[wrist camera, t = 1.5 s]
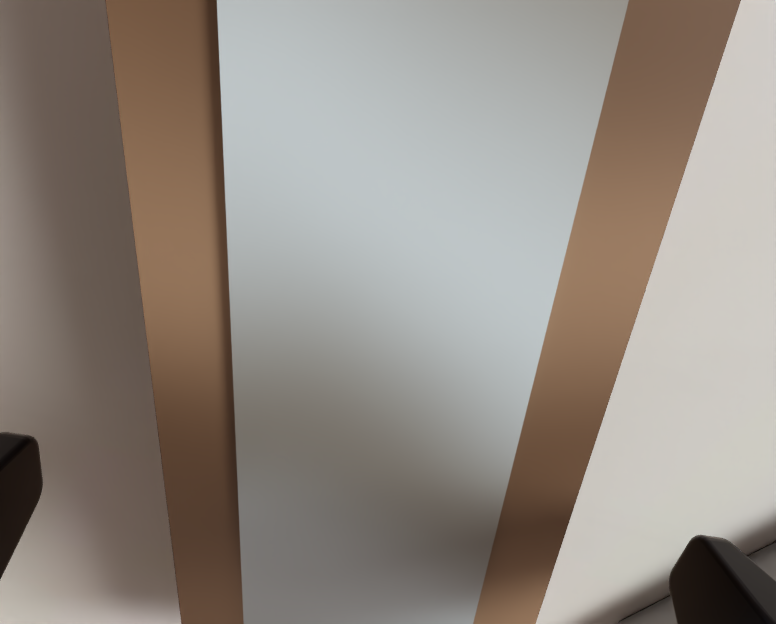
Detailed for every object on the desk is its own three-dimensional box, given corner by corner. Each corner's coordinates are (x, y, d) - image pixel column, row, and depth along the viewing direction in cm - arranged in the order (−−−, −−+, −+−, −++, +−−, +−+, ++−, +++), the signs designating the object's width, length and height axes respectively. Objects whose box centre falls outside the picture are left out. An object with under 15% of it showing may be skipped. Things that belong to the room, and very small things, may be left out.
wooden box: (466, 599, 16) (487, 780, 12) (241, 584, 16) (195, 763, 12) (639, -139, 8) (827, -234, 5) (207, -186, 8) (57, -325, 5)
